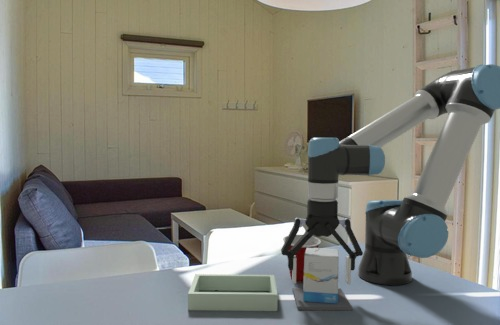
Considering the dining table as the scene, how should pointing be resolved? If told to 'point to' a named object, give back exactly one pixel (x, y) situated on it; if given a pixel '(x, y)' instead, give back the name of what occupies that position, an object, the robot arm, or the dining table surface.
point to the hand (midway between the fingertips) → (320, 282)
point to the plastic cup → (302, 255)
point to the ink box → (321, 275)
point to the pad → (304, 305)
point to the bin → (233, 293)
